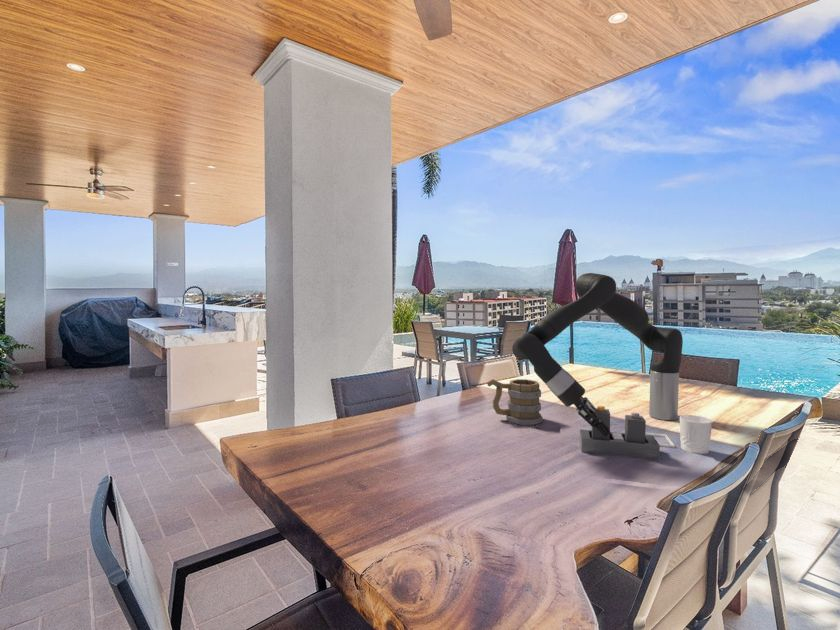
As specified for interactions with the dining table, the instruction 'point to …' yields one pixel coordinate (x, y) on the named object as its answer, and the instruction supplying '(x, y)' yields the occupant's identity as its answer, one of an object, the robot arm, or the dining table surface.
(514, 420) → the tankard
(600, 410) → the plug
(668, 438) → the tray
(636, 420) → the twin plug
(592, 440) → the strip
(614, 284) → the robot arm
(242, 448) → the dining table surface
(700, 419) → the white cup
